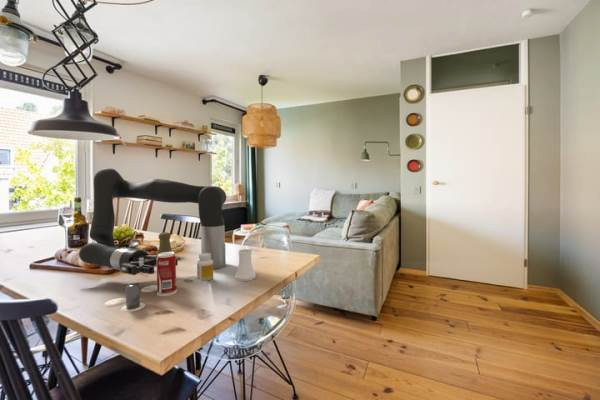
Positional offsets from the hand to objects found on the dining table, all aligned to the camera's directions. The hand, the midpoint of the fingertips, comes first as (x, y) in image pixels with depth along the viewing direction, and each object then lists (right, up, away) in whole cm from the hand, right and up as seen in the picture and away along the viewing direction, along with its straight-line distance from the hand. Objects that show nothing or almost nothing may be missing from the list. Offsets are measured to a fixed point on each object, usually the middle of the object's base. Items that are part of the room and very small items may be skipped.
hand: (165, 266), depth 85 cm
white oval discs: (-5, -10, -3) cm, 11 cm away
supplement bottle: (+8, -9, +14) cm, 18 cm away
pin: (-4, -9, -10) cm, 14 cm away
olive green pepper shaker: (-23, -6, +47) cm, 52 cm away
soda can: (0, -8, +1) cm, 8 cm away
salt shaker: (+21, -9, +18) cm, 29 cm away
